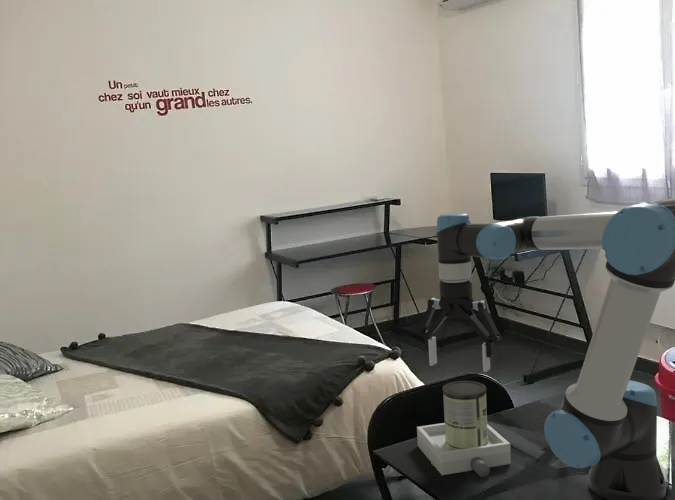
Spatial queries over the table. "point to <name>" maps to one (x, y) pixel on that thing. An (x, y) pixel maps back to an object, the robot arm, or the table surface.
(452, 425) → the coffee can
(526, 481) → the table surface
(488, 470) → the white square tray
